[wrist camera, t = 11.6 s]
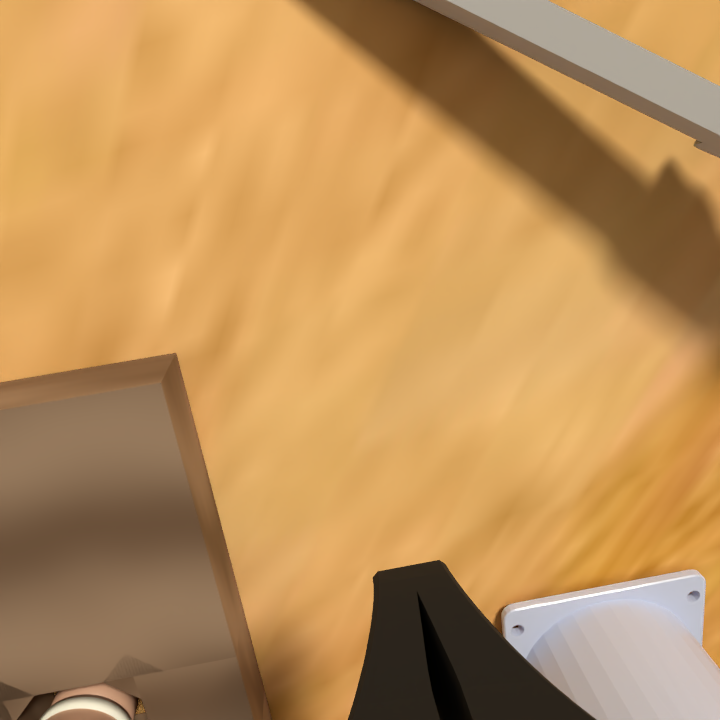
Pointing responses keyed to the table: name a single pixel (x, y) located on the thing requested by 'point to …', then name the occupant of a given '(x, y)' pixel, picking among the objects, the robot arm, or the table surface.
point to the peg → (92, 704)
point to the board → (116, 550)
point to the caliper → (597, 61)
